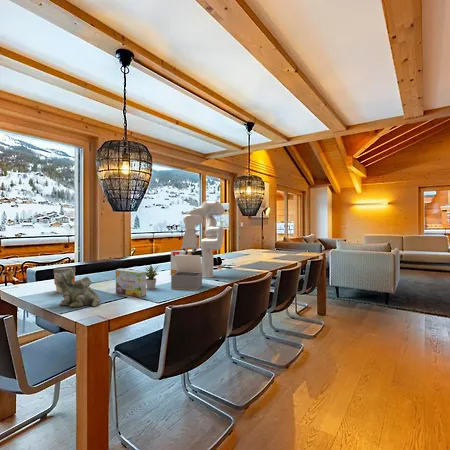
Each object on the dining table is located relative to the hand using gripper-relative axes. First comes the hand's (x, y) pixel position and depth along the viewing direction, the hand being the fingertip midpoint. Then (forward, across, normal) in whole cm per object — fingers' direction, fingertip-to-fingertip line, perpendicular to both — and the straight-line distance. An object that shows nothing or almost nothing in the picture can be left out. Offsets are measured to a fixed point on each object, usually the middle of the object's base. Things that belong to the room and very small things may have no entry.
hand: (189, 257), depth 210 cm
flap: (+4, 0, +3) cm, 5 cm away
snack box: (+21, +29, +32) cm, 47 cm away
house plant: (+20, +23, +12) cm, 33 cm away
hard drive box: (+19, +18, -39) cm, 47 cm away
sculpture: (+21, +48, +56) cm, 77 cm away
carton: (+20, 0, +7) cm, 21 cm away
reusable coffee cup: (+21, +74, +31) cm, 83 cm away
